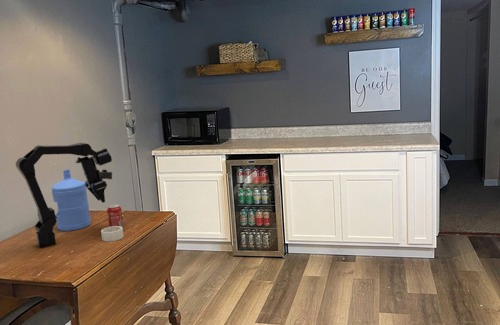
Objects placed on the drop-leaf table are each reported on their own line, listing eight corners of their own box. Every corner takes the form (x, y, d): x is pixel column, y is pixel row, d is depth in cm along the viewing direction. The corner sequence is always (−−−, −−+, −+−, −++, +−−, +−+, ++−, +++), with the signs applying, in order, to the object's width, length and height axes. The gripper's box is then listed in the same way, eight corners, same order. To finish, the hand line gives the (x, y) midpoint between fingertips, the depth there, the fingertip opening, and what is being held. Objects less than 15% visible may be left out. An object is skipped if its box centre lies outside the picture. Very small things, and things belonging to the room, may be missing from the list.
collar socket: (106, 243, 206) (104, 234, 205) (99, 238, 213) (98, 229, 213) (126, 237, 211) (125, 229, 210) (119, 233, 218) (118, 224, 218)
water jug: (96, 221, 241) (89, 166, 236) (80, 231, 226) (72, 173, 221) (68, 221, 244) (60, 167, 239) (50, 231, 228) (42, 174, 224)
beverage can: (118, 227, 227) (115, 203, 224) (126, 229, 223) (123, 204, 220) (107, 231, 222) (103, 206, 220) (115, 233, 218) (111, 208, 216)
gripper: (112, 164, 213) (123, 196, 216) (102, 162, 230) (113, 192, 233) (87, 173, 208) (99, 206, 211) (79, 170, 225) (90, 201, 228)
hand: (101, 201), depth 221 cm, fingers open, 9 cm apart
